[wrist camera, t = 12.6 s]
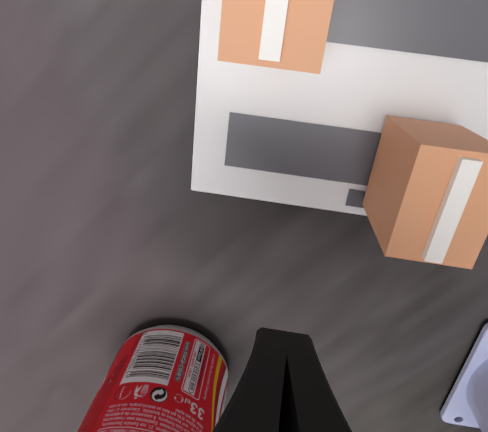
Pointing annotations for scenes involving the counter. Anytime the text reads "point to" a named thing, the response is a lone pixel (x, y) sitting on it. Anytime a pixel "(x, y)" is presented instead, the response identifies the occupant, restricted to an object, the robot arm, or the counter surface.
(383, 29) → the switch bank
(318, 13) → the tab near
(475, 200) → the tab far
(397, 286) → the counter surface
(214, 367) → the soda can
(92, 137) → the counter surface
